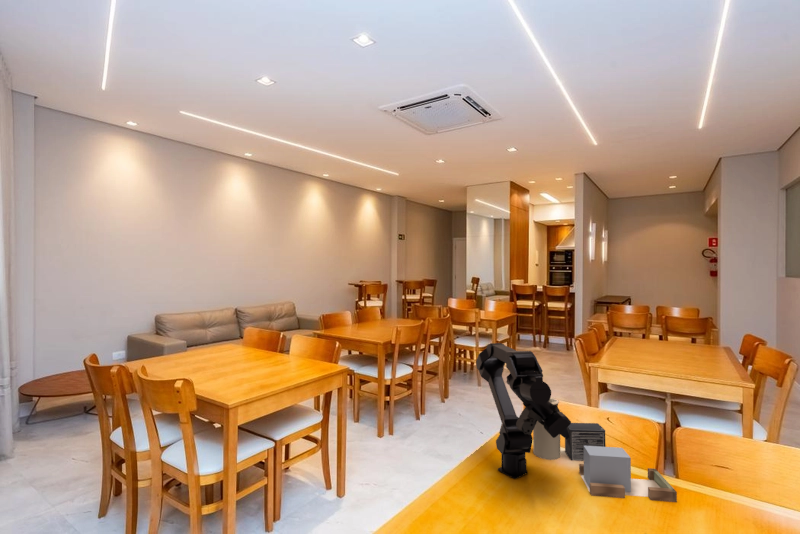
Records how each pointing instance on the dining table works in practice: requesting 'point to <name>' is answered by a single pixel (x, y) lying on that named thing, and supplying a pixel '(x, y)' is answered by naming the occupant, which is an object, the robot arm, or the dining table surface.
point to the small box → (583, 439)
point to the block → (607, 466)
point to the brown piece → (635, 487)
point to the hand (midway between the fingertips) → (567, 437)
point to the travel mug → (546, 440)
